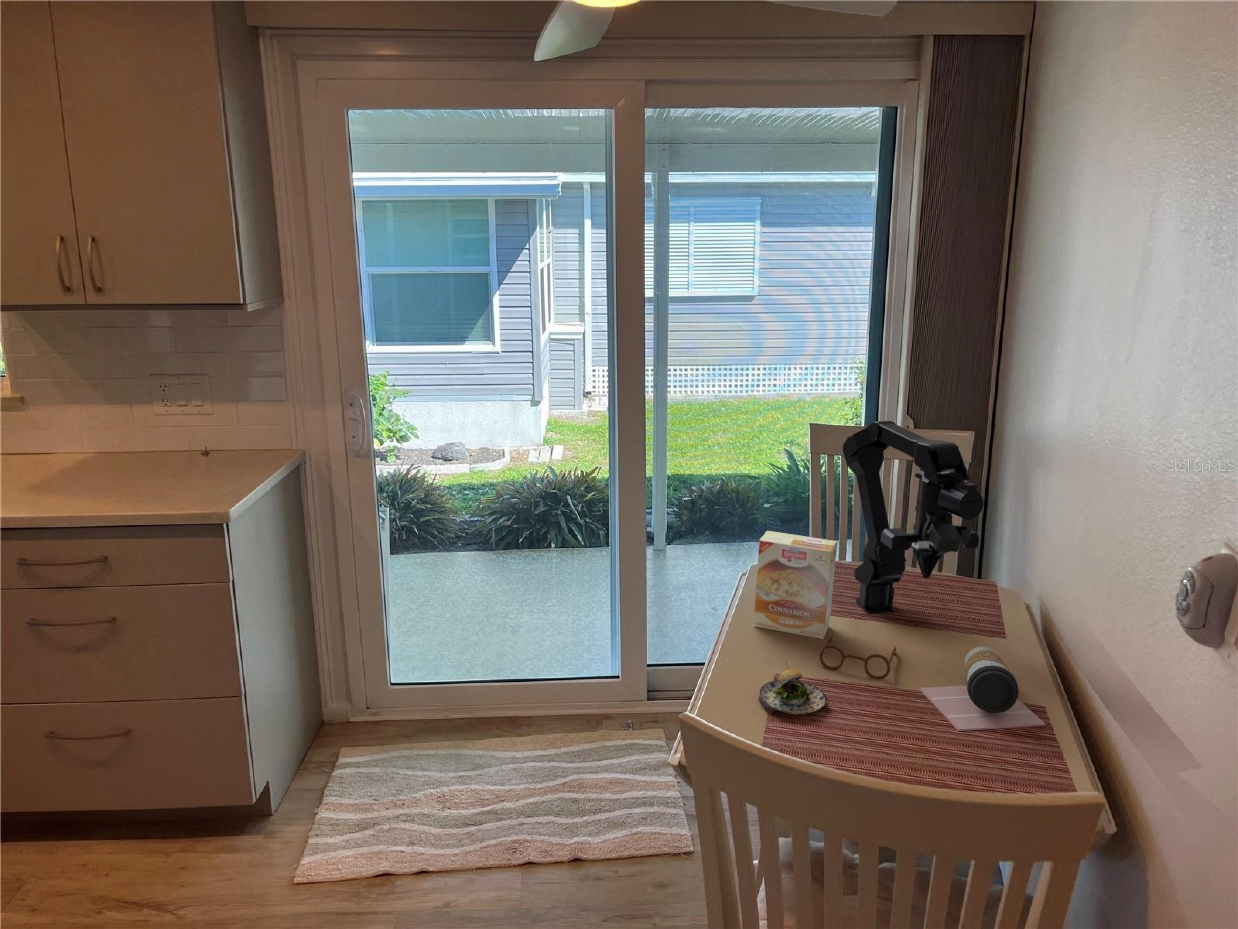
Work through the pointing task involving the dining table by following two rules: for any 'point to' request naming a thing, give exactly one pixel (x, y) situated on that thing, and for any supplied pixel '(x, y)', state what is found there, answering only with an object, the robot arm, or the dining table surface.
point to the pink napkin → (977, 711)
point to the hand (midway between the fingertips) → (925, 577)
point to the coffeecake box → (794, 584)
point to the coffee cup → (989, 681)
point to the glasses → (856, 658)
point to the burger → (791, 695)
